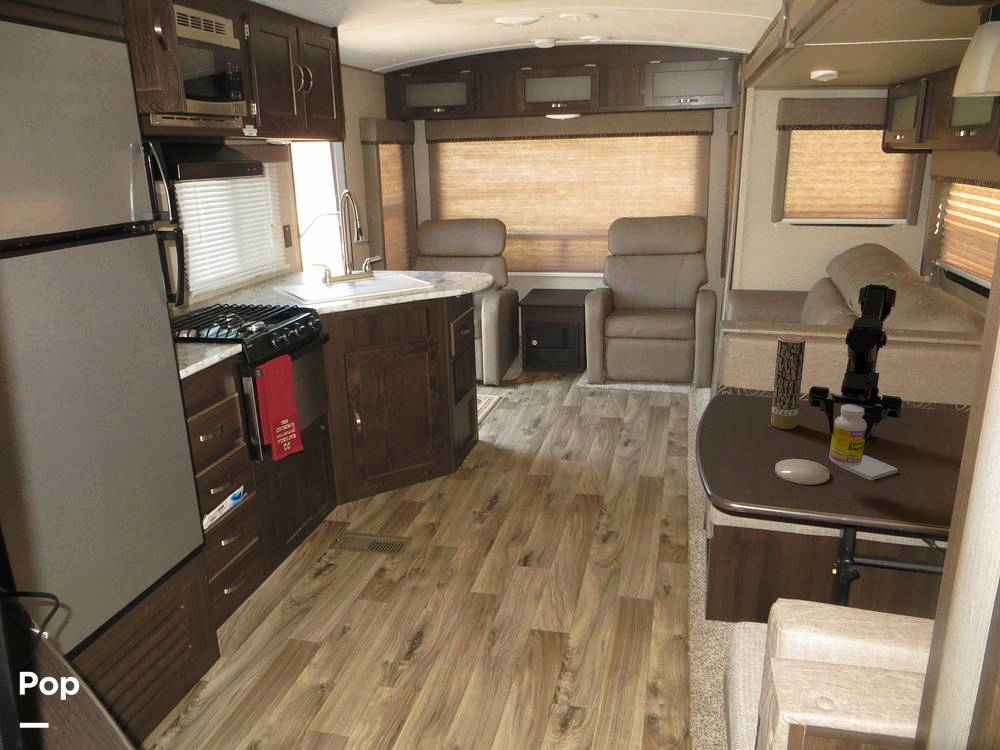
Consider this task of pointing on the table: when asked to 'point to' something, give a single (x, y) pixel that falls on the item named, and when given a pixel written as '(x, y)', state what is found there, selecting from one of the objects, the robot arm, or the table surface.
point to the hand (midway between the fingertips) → (848, 436)
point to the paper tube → (787, 381)
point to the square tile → (871, 468)
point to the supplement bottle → (848, 436)
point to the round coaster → (802, 471)
